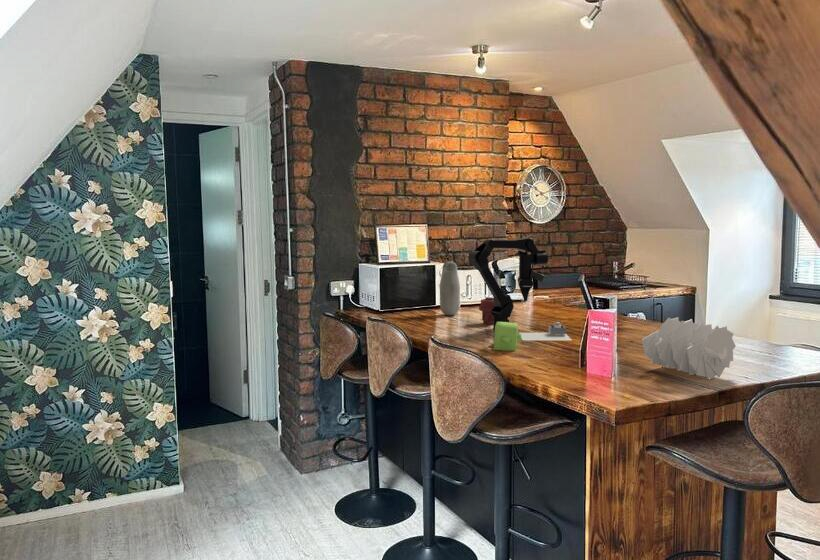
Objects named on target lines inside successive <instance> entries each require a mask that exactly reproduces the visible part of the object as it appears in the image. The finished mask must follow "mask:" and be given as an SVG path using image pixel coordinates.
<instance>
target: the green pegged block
mask: <svg viewBox="0 0 820 560" xmlns="http://www.w3.org/2000/svg"><path fill="white" fill-rule="evenodd" d="M518 327H519V324H518V323H517V322H516V323H515V322H510V321H509V322H497V323H496V325H495V330H494V337H493V338H494V342H493V351H494V350H495V351H509V352H511V351H513V352H516V351H517V346H518V345H517V344H518V341H521V340H522V338H521V334H519V331H518Z"/></svg>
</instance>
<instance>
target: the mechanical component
mask: <svg viewBox="0 0 820 560" xmlns="http://www.w3.org/2000/svg"><path fill="white" fill-rule="evenodd" d="M494 306H495V305H494V298H493V296H492V297H490V296H489V297H485V298H484V299H483V298H482V299H481V300H480V305H479V306H478V310H479V311H481V312H482V315H481V319H482V322H483V324H487V325H488V326H489V325H490V326H491V325H493V315H491V312H490V311H491V310H492V309H493V307H494Z"/></svg>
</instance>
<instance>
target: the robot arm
mask: <svg viewBox="0 0 820 560" xmlns="http://www.w3.org/2000/svg"><path fill="white" fill-rule="evenodd" d="M494 249H514V250H517V252H516V253H515V254H514V255H515V256H517V257H518V260H519V261H518V277H517V284H518V287H519V291H520V293H521V296H522V299H523V301H524V302H527V301H528V298H529V293H530V290H531V289H532V288H533V287H534V281H533V280H536V281H539V282H541V283H543V282H544V279H545V275H544V274H543V273H542V271H541V270H537V271H534V268H533V266H545V265H547V264H548V262H549V256H548V254H547V253H546V250H545V249H540V250H539V249H538V248H537V246H536V245H535V241H534V240H533V238H531V237H520V238H519V237H518V238H515V239H490V238H487V239H485V240H484V241H483V242H482V243H481V244H479V245H478V246H477V247H475V248H474V250H472V251H470V252H469V254H468V257H467V258H468V262H469V263H470V264H471V265H472V266H473V267H474V268H475V269H476V270H477V271H478V272H479V274H480V275H481V277H482V279H483V281H484V283H485V284H486V287H487V288H488V289H489V291H490V292H489V293H491V295H492V298H494V305H495V306H494V307H493V309H492V310H491V311H490V312H491V315H493V324H492V325H493V327H492V330H493V331H495V325H496V323H497V322H509V323H510V319H509V318H511V315H512V312H513V310H514V308H515V305H514V303H515V301H513V300H512V298H511V295H510V294H506V293H504V292H503V290H502V289H501V286H500V284H499V283H498V281H497V279H496V278H495V276H494V274H493V272H492V270H491V268H490V267H489V257H490V255H491V254H492V252H493V250H494Z"/></svg>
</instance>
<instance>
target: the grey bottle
mask: <svg viewBox="0 0 820 560" xmlns="http://www.w3.org/2000/svg"><path fill="white" fill-rule="evenodd" d="M440 277H441V278H440V281H439V307H440V308H439V309H440V310H441V313H442V314H443V315H445V316H449V317H451V316H454V315H457V314H458V312H459V310H460V306H461V305H460V303H461V299H460V297H461V283H460V278H459V272H458V265H457V264H456V262H454V261H450V260H448V261H445V262H444V263H443V265H442V271H441V275H440Z"/></svg>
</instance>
